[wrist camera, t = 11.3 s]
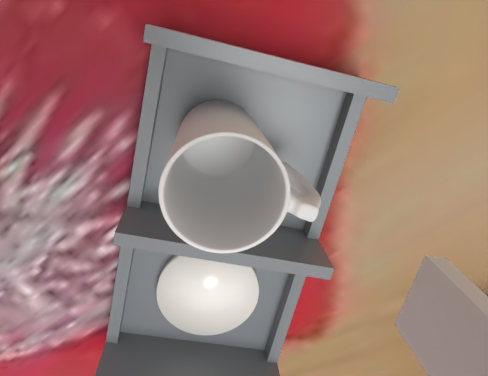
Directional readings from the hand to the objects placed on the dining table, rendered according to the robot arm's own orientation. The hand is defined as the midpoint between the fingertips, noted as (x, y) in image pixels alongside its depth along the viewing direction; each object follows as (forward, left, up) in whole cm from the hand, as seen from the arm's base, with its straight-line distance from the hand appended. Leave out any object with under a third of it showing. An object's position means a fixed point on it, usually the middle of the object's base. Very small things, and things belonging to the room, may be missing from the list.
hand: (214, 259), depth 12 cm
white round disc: (+3, -15, -21) cm, 26 cm away
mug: (+3, -2, -21) cm, 21 cm away
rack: (+3, -8, -22) cm, 24 cm away
